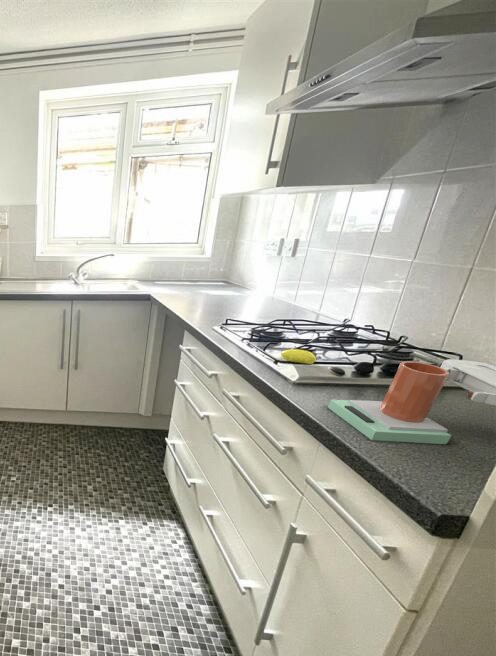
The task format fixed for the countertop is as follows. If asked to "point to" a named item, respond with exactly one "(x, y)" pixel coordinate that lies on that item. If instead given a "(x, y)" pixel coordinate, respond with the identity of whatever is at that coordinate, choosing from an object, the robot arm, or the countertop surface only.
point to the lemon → (299, 356)
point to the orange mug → (413, 391)
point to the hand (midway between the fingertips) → (449, 384)
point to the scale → (387, 423)
